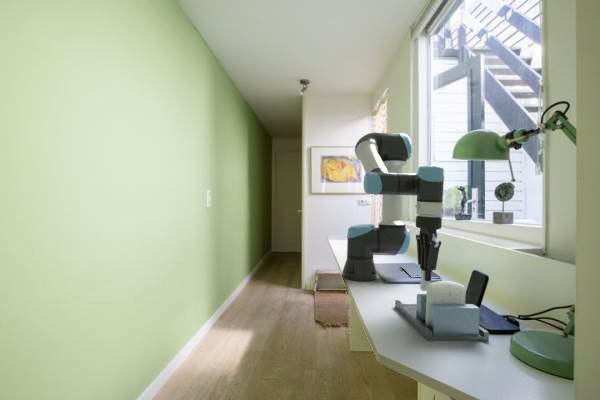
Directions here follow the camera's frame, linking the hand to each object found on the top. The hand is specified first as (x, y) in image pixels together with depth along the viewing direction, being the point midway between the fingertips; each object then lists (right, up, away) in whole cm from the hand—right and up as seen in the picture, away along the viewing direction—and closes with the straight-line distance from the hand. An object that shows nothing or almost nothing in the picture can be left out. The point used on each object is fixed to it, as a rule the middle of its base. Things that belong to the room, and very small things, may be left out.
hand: (425, 289), depth 101 cm
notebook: (+17, -7, +53) cm, 56 cm away
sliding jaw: (0, -6, -9) cm, 11 cm away
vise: (0, -7, -8) cm, 10 cm away
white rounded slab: (0, -7, -13) cm, 14 cm away
